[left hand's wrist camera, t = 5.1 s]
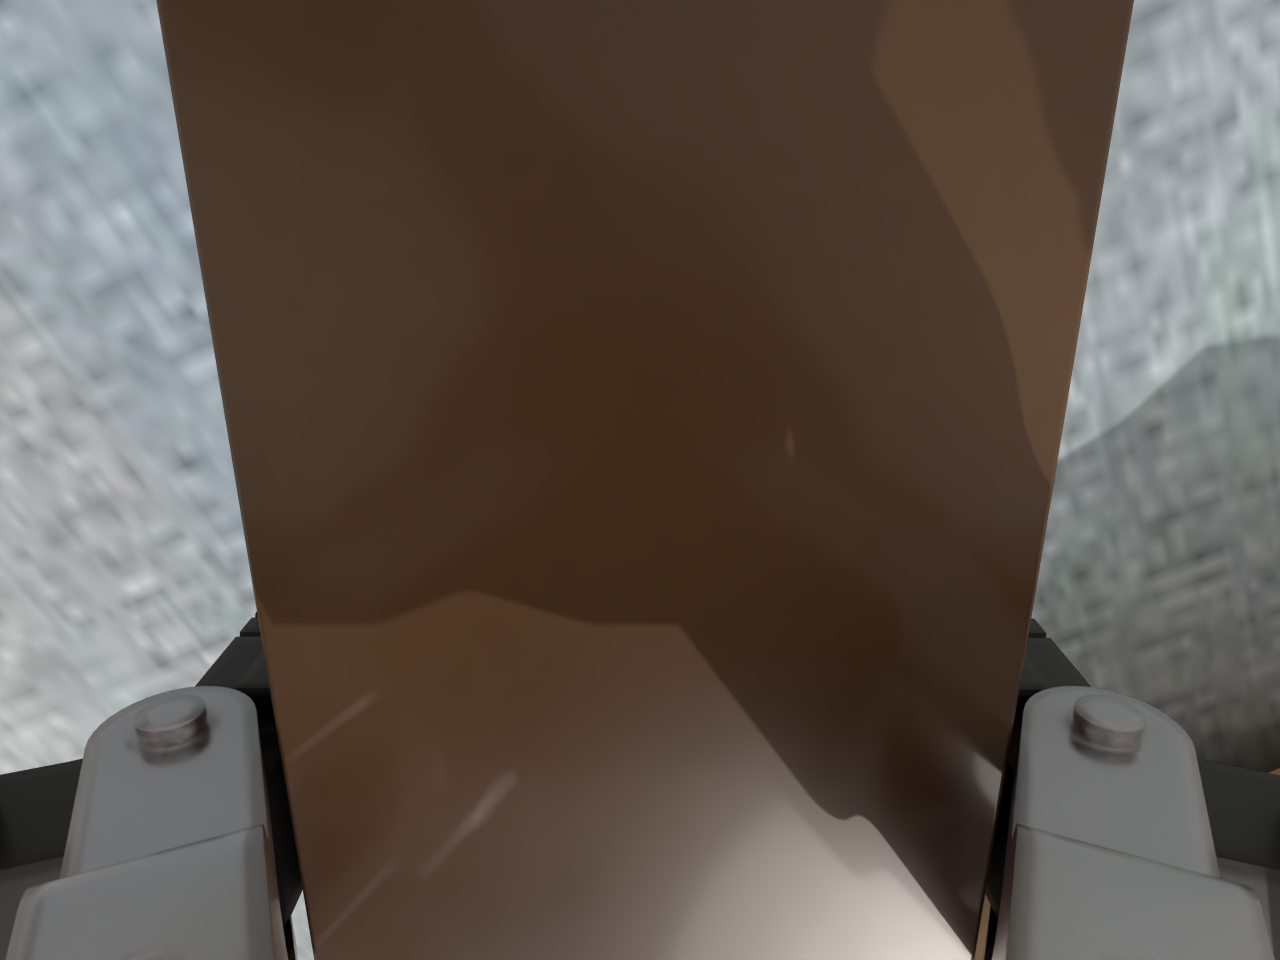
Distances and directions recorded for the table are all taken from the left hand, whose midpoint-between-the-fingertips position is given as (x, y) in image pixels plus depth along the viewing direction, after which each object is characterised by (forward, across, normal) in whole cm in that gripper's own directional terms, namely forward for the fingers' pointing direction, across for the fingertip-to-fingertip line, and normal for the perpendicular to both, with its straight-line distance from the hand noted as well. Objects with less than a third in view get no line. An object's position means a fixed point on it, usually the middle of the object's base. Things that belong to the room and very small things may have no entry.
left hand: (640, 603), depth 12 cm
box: (+8, 0, -7) cm, 10 cm away
